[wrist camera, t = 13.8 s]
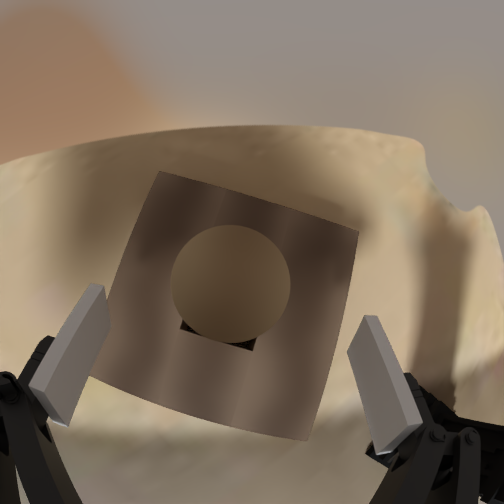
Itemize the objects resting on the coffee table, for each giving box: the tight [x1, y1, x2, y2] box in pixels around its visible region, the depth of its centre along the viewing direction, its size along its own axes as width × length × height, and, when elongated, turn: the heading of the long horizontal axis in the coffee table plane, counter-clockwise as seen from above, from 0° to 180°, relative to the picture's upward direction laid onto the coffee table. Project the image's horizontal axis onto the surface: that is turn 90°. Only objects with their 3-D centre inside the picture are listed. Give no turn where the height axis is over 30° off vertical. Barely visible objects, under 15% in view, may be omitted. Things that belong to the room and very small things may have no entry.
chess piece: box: [365, 386, 504, 504], centre depth 12 cm, size 8×8×20 cm
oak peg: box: [171, 225, 290, 343], centre depth 17 cm, size 4×4×13 cm
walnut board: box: [89, 171, 359, 441], centre depth 21 cm, size 16×16×4 cm
